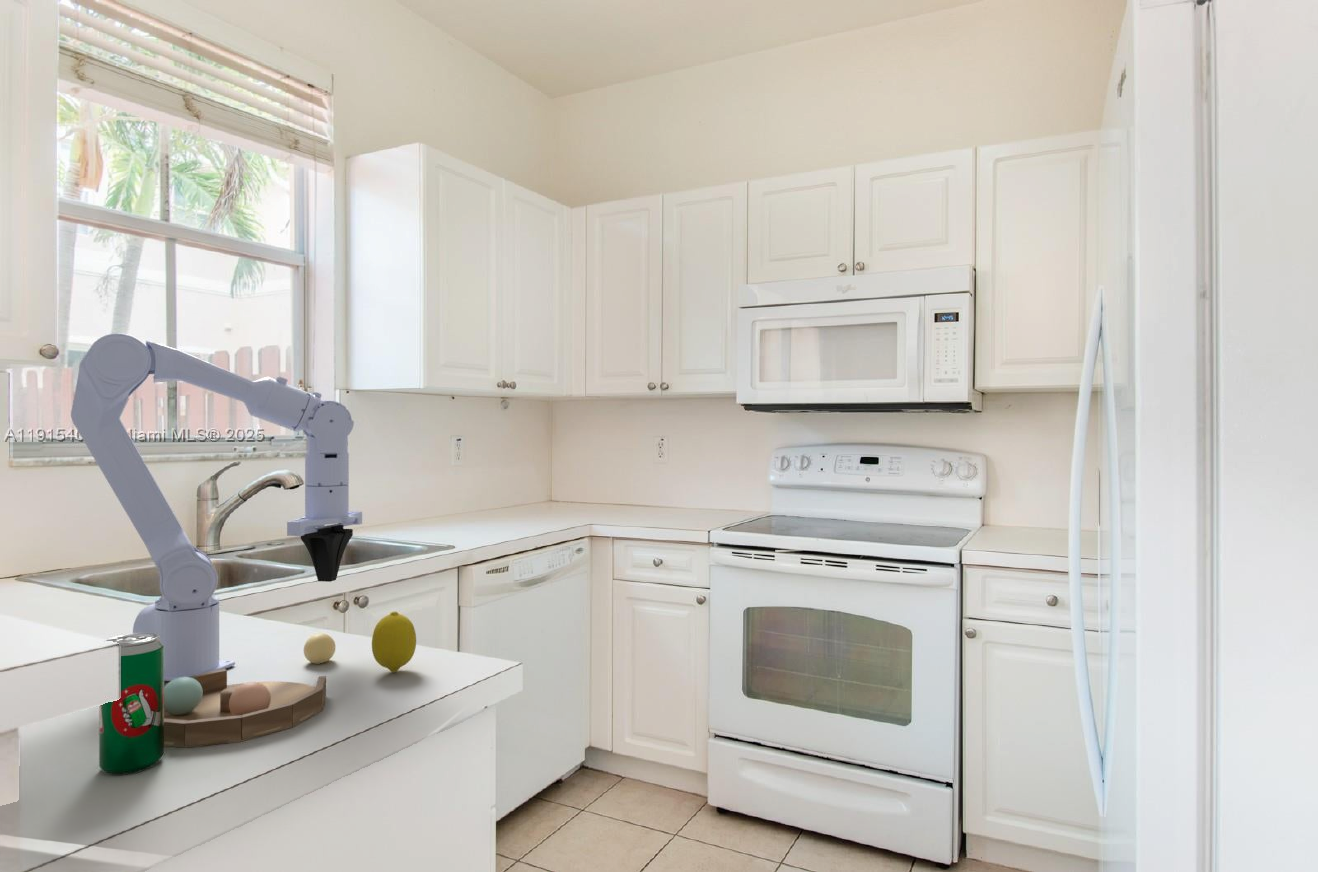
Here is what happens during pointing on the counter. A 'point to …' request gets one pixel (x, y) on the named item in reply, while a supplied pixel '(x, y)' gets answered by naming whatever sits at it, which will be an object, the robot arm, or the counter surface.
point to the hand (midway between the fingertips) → (326, 580)
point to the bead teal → (182, 695)
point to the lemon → (393, 641)
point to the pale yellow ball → (319, 648)
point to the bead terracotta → (249, 698)
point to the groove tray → (220, 726)
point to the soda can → (135, 708)
